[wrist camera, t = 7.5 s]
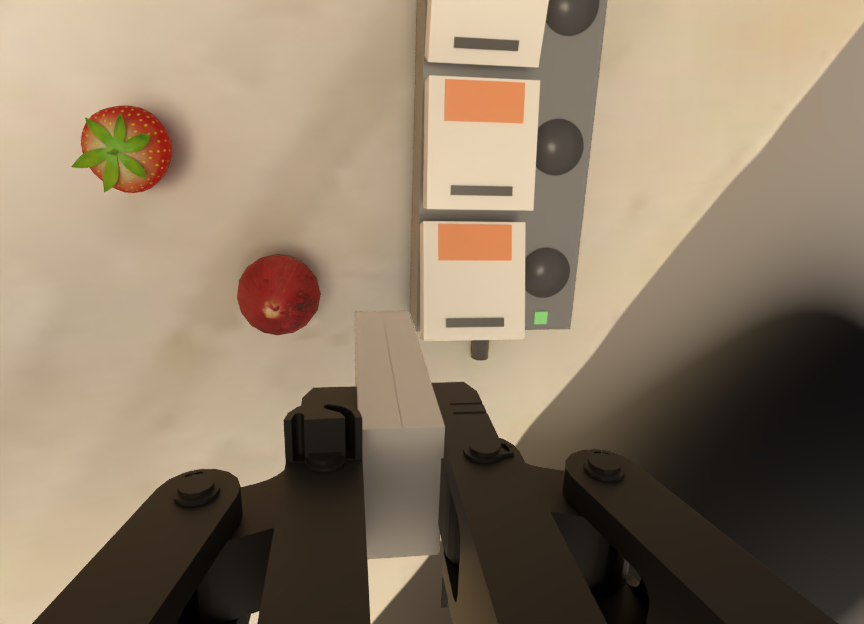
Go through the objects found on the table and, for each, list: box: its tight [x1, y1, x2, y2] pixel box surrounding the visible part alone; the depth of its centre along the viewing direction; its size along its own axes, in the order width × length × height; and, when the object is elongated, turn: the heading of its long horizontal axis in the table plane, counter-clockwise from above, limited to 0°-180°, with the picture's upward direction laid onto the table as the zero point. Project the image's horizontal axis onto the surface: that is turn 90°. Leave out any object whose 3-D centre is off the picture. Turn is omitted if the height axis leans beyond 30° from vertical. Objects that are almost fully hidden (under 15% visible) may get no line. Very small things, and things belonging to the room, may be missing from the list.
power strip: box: [410, 0, 607, 360], centre depth 43 cm, size 12×31×6 cm, turn 178°
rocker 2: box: [423, 75, 540, 211], centre depth 38 cm, size 7×8×2 cm
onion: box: [237, 255, 321, 335], centre depth 42 cm, size 6×6×8 cm
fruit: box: [72, 106, 172, 193], centre depth 38 cm, size 5×5×8 cm
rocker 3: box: [420, 221, 525, 341], centre depth 40 cm, size 7×8×2 cm
